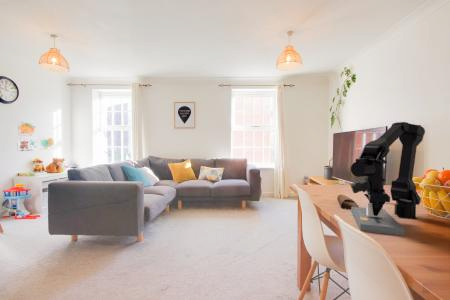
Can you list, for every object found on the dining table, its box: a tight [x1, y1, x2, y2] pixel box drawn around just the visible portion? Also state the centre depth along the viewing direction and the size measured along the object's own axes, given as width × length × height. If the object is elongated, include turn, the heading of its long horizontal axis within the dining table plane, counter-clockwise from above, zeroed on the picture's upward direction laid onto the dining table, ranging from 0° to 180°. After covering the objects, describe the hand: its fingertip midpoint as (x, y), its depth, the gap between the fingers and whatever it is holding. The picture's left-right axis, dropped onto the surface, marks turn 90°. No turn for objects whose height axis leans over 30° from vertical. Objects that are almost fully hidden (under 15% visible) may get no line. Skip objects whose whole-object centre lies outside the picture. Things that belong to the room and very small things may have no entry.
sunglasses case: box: [337, 194, 359, 210], centre depth 122 cm, size 18×7×7 cm
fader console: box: [350, 206, 405, 237], centre depth 95 cm, size 13×25×3 cm, turn 159°
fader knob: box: [365, 202, 384, 218], centre depth 93 cm, size 5×3×5 cm, turn 69°
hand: (374, 214), depth 94 cm, fingers closed on fader knob, 3 cm apart
